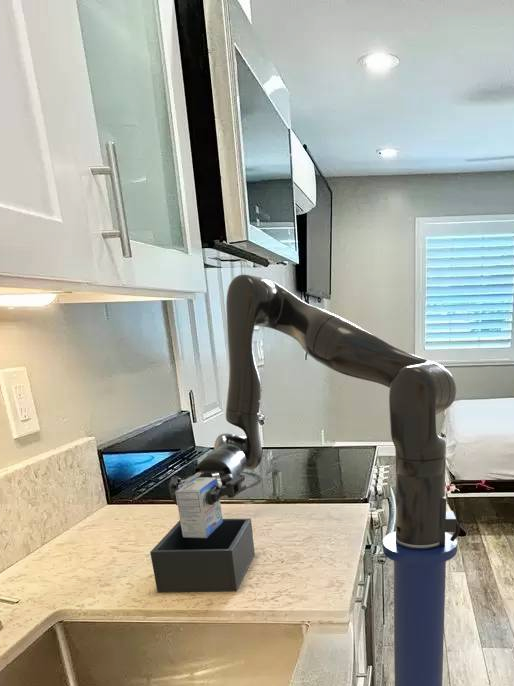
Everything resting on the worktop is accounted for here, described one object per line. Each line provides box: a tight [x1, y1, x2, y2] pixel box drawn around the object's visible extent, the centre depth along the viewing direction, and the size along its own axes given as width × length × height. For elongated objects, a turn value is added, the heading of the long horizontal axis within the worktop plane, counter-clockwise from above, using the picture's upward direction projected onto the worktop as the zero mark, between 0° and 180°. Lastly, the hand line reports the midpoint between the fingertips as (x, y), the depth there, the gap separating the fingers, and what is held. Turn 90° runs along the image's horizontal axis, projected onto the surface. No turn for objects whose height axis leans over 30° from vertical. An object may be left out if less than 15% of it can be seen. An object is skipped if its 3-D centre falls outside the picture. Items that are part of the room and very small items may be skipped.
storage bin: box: [149, 518, 256, 594], centre depth 103 cm, size 14×16×8 cm
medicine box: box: [176, 477, 224, 538], centre depth 99 cm, size 8×4×9 cm, turn 172°
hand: (193, 499), depth 96 cm, fingers closed on medicine box, 5 cm apart
